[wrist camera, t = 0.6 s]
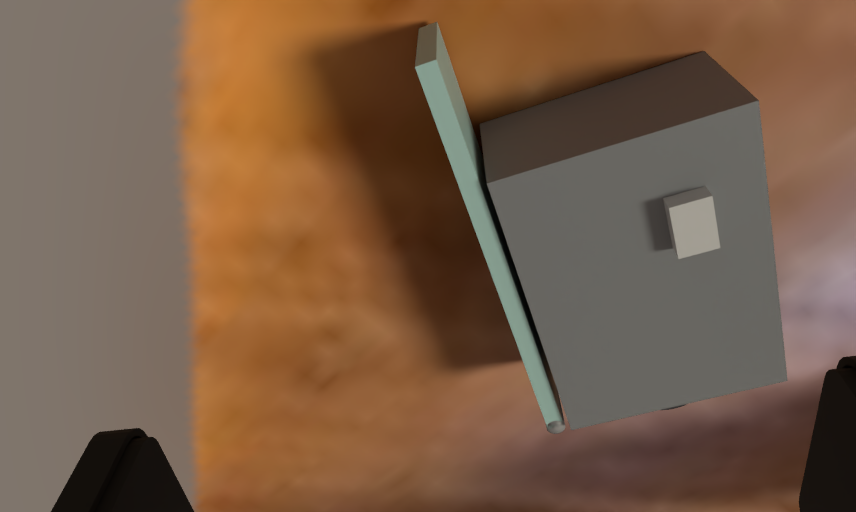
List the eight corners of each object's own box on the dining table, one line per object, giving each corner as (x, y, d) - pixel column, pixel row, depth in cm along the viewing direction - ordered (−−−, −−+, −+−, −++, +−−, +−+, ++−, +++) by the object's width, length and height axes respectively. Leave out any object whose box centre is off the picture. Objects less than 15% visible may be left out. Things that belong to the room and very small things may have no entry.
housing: (741, 316, 37) (796, 408, 31) (558, 361, 39) (578, 456, 33) (704, 50, 29) (767, 108, 24) (479, 123, 31) (487, 193, 26)
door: (552, 360, 38) (567, 431, 34) (537, 364, 39) (549, 435, 34) (438, 21, 29) (437, 58, 24) (417, 28, 29) (413, 67, 24)
